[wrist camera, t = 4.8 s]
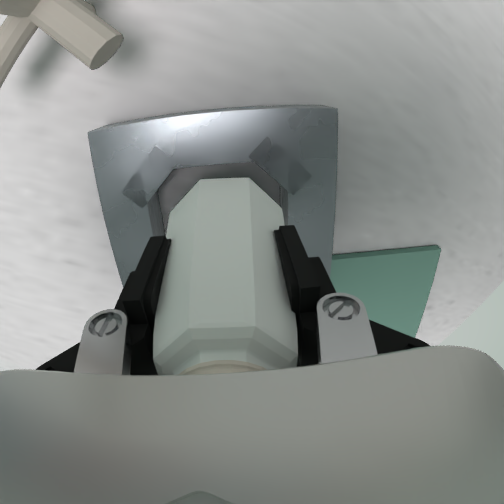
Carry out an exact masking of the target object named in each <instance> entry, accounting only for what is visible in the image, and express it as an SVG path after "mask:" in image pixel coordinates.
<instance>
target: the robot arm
mask: <svg viewBox="0 0 504 504" xmlns="http://www.w3.org/2000/svg"><path fill="white" fill-rule="evenodd" d="M274 235H275V239H276V244H277V248H278V252H279V257H280V261H281V266H282V270H283V275H284V279H285V284H286V288H287V293H288V297H289V302H290V306H291V311H293V312H294V313H295V315H296V324H297V338H298V360H297V367H290V368H281V369H270V370H259V371H247V372H233V373H216V374H193V375H158V373H157V370H156V367H155V364H154V361H153V334H154V324H155V315H156V310H157V305H158V300H159V295H160V290H161V285H162V280H163V275H164V271H165V266H166V262H167V257H168V253H169V248H170V244H171V239H167V238H166V236H165V235H163V236H153V237H150V239H149V241H148V243H147V245H146V247H145V249H144V252H143V254H142V256H141V258H140V261H139V263H138V265H137V267H136V270H135V271H132V272H131V273H130V274H129V276H128V278H127V281H126V283H125V285H124V288H123V290H122V292H121V294H120V297H119V299H118V301H117V304H116V306H115V309H107V310H103V311H100V312H98V313H96V314H94V315H93V316H92V317H90V318H89V320H88V321H87V322H86V324H85V326H84V330H83V334H82V338H81V342H80V343H78V344H76V345H74V346H73V347H71V348H69V349H68V350H66V351H64V352H63V353H61V354H59V355H58V356H56V357H54V358H53V359H51V360H49V361H48V362H46V363H44V364H43V365H41V366H40V367H38V368H37V369H36V370H31V369H15V370H6V371H0V504H504V370H503V369H502V368H501V366H500V365H499V364H498V363H497V362H496V361H494V359H493V358H491V357H490V356H488V355H487V354H486V353H484V352H481V351H479V350H476V349H472V348H467V347H460V346H430V345H429V344H427V343H425V342H423V341H421V340H419V339H416V338H414V337H411V336H409V335H406V334H404V333H401V332H399V331H396V330H394V329H391V328H389V327H386V326H384V325H381V324H379V323H377V322H374V321H372V320H369V319H368V315H367V311H366V308H365V306H364V304H363V302H362V301H361V300H360V299H359V298H357V297H355V296H353V295H350V294H347V293H336V290H335V288H334V286H333V284H332V282H331V280H330V278H329V276H328V273H327V271H326V269H325V267H324V265H323V263H322V261H321V259H320V257H308V255H307V253H306V251H305V248H304V246H303V244H302V241H301V239H300V237H299V235H298V232H297V230H296V228H295V226H294V225H285V226H279V230H274Z"/></svg>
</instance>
